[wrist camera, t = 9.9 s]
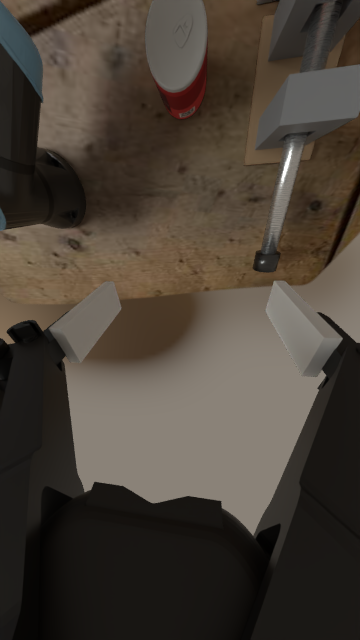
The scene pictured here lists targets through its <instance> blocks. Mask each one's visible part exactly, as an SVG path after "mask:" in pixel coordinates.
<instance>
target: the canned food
mask: <svg viewBox="0 0 360 640" xmlns="http://www.w3.org/2000/svg"><path fill="white" fill-rule="evenodd" d="M207 45H208V29H207V17H206V12H205V6H204V3H203V1H202V0H153V1H152V4H151V6H150V9H149V13H148V17H147V22H146V29H145V46H146V54H147V60H148V64H149V67H150V70H151V73H152V76H153V78H154V81H155V83H156V86H157V88H158V90H159V93H160V95H161V98H162V100H163V102H164V105H165V107H166V109H167V110H168V112H169V113H170V114H171V115H172V116H173V117H175V118H177V119H186V118H188V117H190V116H191V115H193V114H194V113H195V112H196V111H197V109H198V108H199V106H200V104H201V102H202V100H203V97H204V94H205V89H206V76H207Z"/></svg>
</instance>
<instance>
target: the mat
mask: <svg viewBox="0 0 360 640" xmlns="http://www.w3.org/2000/svg"><path fill="white" fill-rule="evenodd" d="M273 1H278V0H257V4H262V3H267V2H273Z"/></svg>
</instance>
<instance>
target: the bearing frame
mask: <svg viewBox="0 0 360 640" xmlns="http://www.w3.org/2000/svg"><path fill="white" fill-rule="evenodd" d="M330 1H335V0H280V2H279V4H278V7H277V9H276V12H275V14H273V15H268V16H264V17H263V20H262V24H261V32H260V40H259V48H258V56H257V64H256V72H255V80H254V88H253V96H252V104H251V112H250V120H249V128H248V136H247V144H246V152H245V160H244V166H248V165H260V164H271V163H280V159H281V155H282V150H283V146H284V141H285V136H286V134H289V133H299V132H308V135H307V138H306V142H305V146H304V150H303V153H302V157H301V161H307V160H310V157H311V154H312V150H313V147H314V143H315V140H316V139H318V138H320V137H322V136H324V135H326V134H327V133H329V132H331V131H333V130H335V129H337V128H339V127H340V126H342V125H344V124H346V123H348V122H350V121H351V120H353V119H355V118H357V117H358V114H359V111H360V64H359V65H352V66H345V67H338V68H336V67H337V64H338V60H339V57H340V54H341V50H342V47H343V43H344V40H345V36H346V33H347V32H348V31H349V30H350V28H351V27H352V26H353V25H354V24H355V23H356V21H357V20H358V19H359V18H360V0H343V4H342V8H341V11H340V15H339V19H338V22H337V26H336V30H335V34H334V37H333V41H332V45H331V49H330V52H329V56H328V60H327V64H326V67H325V69H324V70H317V71H310V72H303V73H299V72H300V67H301V62H302V58H303V53H304V48H305V44H306V39H307V35H308V30H309V25H310V21H311V16H312V12H313V10H314V9H315V7H316V6H317V5H318V4H319V3H325V2H330Z"/></svg>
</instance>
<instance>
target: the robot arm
mask: <svg viewBox="0 0 360 640" xmlns="http://www.w3.org/2000/svg"><path fill="white" fill-rule="evenodd" d="M42 79H43V65H42V60H41V57H40V54H39V52H38V49H37V48H36V46H35V44H34V42H33V41H32V39H31V38H30V36H29V35H28V33H27V32H26V31H25V30H24V28H23V27H22V26H21V25H20V23H19V22H18V21H17V20H16V19H15V17H14V16H13V15H12V14H11V13H10V12H9V10H8V9H7V8H6V7H5V6H4V5H3V3H2V2H1V1H0V231H1V230H5V229H11V228H17V227H24V226H30V225H36V224H44V225H48V226H51V227H55V228H61V229H64V228H70V227H74V226H76V225H78V224H79V223H80V222H81V221H82V219H83V217H84V214H85V210H86V200H85V194H84V190H83V187H82V185H81V182H80V180H79V178H78V177H77V175H76V173H75V172H74V170H73V169H72V168H71V166H70V165H69V164H68V163H67V162H66V161H65V160H64V159H63V158H61V157H60V156H59V155H57V154H55V153H54V152H51V151H49V150H46V149H43V148H39V147H37V141H38V130H39V119H40V108H41V103H43V95H42ZM120 310H121V305H120V302H119V298H118V295H117V291H116V288H115V285H114V282H104V283H103V284H102V285H101V286H99V287H98V288H97V289H96V290H94V291H93V292H92V293H91V294H90V295H88V296H87V297H86V298H85V299H84V300H82V301H81V302H80V303H79V304H78V305H76V306H75V307H74V308H73V309H72V310H70V311H68V312H66V313H65V314H64V315H63V316H62V317H61V318H59V319H58V320H57V321H55V322H54V323H53V324H52V325H50V326H49V327H48V328H47V329H46V330H44V331H42V330H41V328H40V327H39V325H38V324H37V322H36V321H34V320H28V321H23V322H20V323H18V324H16V325H14V326H12V327H11V328H9V329H8V330H7V333H8V334H9V336H10V337H11V338H12V339H13V340H14V342H15V343H14V344H7V343H6V342H5V341H4V340H3V339H1V338H0V640H360V343H356V342H355V341H354V340H353V339H352V338H351V337H350V336H349V335H348V334H347V333H345V332H344V331H343V330H342V329H341V328H340V327H339V326H338V325H337V324H335V322H333V321H332V320H331V319H330V318H329V317H328V316H326V315H324V314H322V313H320V312H316V311H315V310H314V309H313V308H312V307H311V306H310V305H309V304H308V303H307V302H306V301H305V300H304V299H303V298H301V297H300V296H299V295H298V294H297V293H296V292H295V291H294V290H293V289H292V288H291V287H290V286H289V285H288V284H287V283H286V282H285V281H274V283H273V286H272V290H271V293H270V297H269V300H268V304H267V307H266V313H267V315H268V317H269V318H270V320H271V322H272V324H273V325H274V327H275V329H276V331H277V333H278V335H279V336H280V338H281V340H282V342H283V343H284V345H285V347H286V349H287V350H288V352H289V354H290V356H291V358H292V359H293V361H294V363H295V365H296V367H297V368H298V370H299V372H300V374H301V375H302V376H311V377H312V376H313V377H317V376H318V374H319V373H320V371H321V370H323V371H324V373H325V374H326V377H325V379H324V380H323V381H322V383H321V384H320V385H319V387H318V389H319V392H318V394H317V396H316V398H315V401H314V403H313V406H312V408H311V410H310V412H309V415H308V417H307V419H306V422H305V424H304V426H303V429H302V431H301V433H300V436H299V438H298V440H297V443H296V445H295V447H294V450H293V452H292V454H291V457H290V459H289V462H288V464H287V466H286V468H285V471H284V473H283V475H282V477H281V480H280V482H279V484H278V487H277V489H276V491H275V494H274V496H273V498H272V500H271V502H270V504H269V506H268V507H267V509H266V510H265V512H264V514H263V516H262V518H261V520H260V522H259V524H258V526H257V529H256V531H255V533H254V536H253V535H252V534H251V533H250V532H249V531H248V529H247V528H246V527H245V526H244V525H243V524H242V523H241V522H240V521H239V520H238V519H237V518H236V517H234V516H233V515H231V514H230V513H229V512H227V511H226V510H224V509H222V506H221V501H216V500H210V499H204V498H197V497H190V496H186V497H182V498H177V499H173V500H168V501H164V502H160V503H150V502H148V501H146V500H145V499H143V498H142V497H140V496H138V495H137V494H135V493H134V492H132V491H130V490H128V489H127V488H125V487H124V486H118V485H112V484H105V483H99V482H94V484H93V487H92V489H91V490H90V491H87V492H85V493H84V489H83V485H82V482H81V480H80V478H79V476H78V473H77V468H76V460H75V451H74V443H73V434H72V425H71V417H70V408H69V400H68V391H67V382H66V375H65V365H64V362H63V361H62V359H63V358H64V357H65V356H66V357H67V358H68V360H69V362H78V363H81V362H82V360H83V359H84V358H85V356H86V355H87V354H88V352H89V351H90V350H91V348H92V347H93V346H94V345H95V343H96V342H97V340H98V339H99V338H100V336H101V335H102V334H103V333H104V331H105V330H106V329H107V327H108V326H109V325H110V323H111V322H112V321H113V319H114V318H115V317H116V315H117V314H118V313H119V311H120Z"/></svg>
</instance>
